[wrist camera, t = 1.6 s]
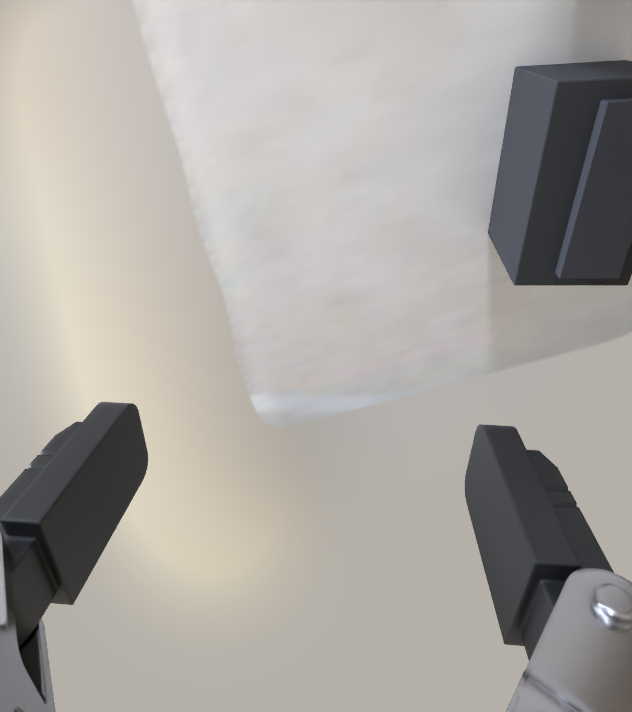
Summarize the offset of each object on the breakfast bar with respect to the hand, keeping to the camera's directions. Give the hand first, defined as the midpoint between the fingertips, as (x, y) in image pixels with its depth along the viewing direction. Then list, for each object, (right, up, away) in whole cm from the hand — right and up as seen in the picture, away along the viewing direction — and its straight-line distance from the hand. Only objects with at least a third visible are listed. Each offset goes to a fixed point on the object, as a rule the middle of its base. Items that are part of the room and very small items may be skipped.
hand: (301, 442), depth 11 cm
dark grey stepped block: (+15, +15, +18) cm, 28 cm away
